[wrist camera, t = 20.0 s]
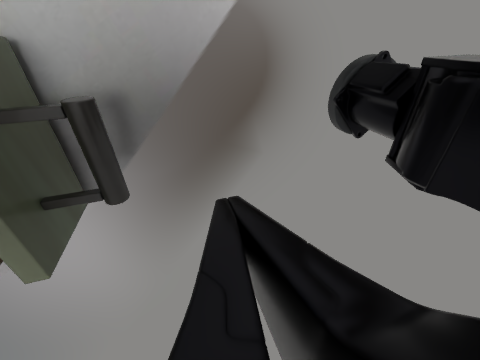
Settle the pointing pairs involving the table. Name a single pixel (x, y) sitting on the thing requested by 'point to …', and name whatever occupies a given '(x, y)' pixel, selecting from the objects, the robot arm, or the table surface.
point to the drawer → (46, 172)
